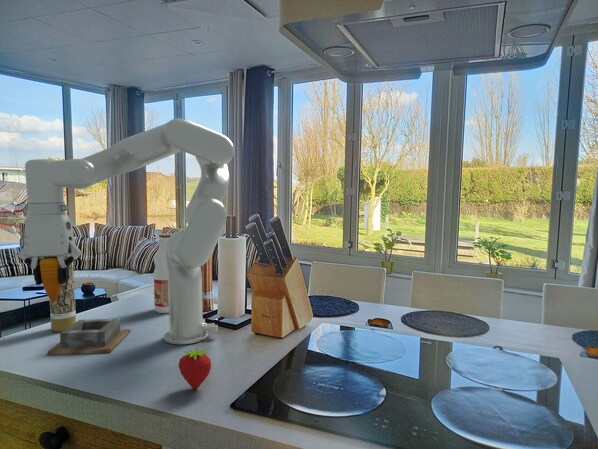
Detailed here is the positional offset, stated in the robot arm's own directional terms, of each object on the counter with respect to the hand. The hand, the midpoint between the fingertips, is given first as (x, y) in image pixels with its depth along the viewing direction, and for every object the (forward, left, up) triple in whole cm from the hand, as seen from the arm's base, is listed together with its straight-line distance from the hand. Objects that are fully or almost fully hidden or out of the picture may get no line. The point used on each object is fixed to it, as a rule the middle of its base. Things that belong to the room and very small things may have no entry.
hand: (52, 282), depth 99 cm
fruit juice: (-18, -44, -21) cm, 51 cm away
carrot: (0, 0, -5) cm, 5 cm away
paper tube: (+10, -26, -21) cm, 35 cm away
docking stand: (-4, -13, -20) cm, 24 cm away
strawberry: (-38, +17, -21) cm, 46 cm away
